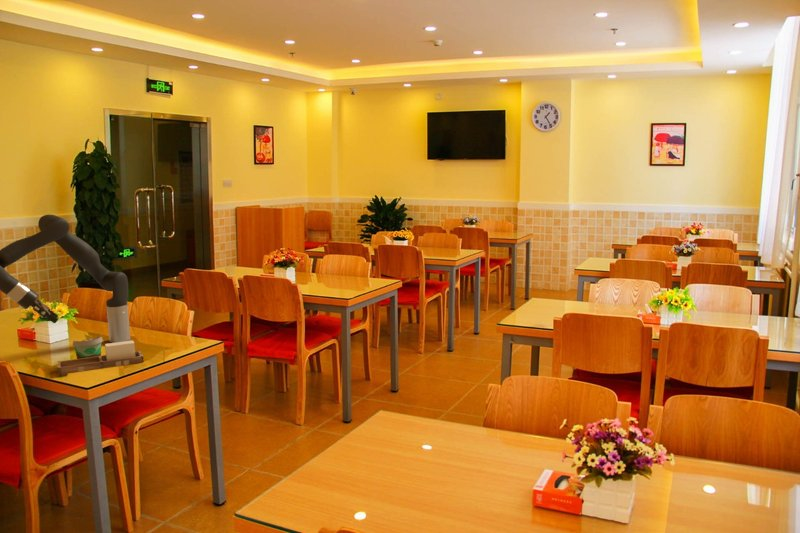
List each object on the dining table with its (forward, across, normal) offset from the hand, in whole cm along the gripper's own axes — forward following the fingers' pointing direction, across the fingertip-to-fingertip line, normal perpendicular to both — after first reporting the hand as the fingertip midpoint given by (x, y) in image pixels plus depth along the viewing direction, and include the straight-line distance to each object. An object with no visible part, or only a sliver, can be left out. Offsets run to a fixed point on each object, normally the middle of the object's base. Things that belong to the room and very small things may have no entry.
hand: (56, 319), depth 285 cm
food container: (+22, -1, +5) cm, 23 cm away
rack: (+25, -12, +3) cm, 27 cm away
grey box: (+29, -12, -3) cm, 32 cm away
